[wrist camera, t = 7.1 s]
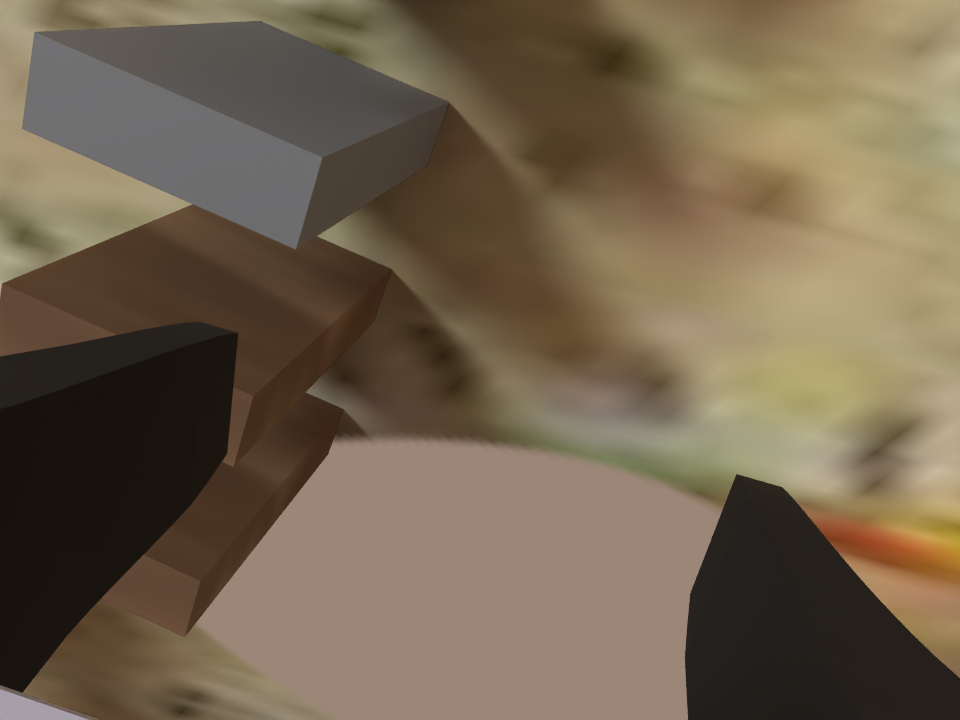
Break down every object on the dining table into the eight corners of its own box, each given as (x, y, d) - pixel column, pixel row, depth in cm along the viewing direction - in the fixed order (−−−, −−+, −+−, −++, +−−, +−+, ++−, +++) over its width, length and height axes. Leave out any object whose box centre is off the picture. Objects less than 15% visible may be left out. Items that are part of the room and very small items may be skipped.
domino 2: (328, 454, 25) (184, 637, 18) (173, 384, 25) (-30, 537, 18) (343, 409, 24) (200, 581, 17) (184, 338, 25) (-23, 478, 17)
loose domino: (427, 164, 21) (295, 249, 14) (244, 85, 21) (22, 128, 14) (449, 102, 21) (323, 157, 13) (259, 21, 21) (34, 32, 14)
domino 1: (373, 321, 23) (233, 466, 16) (205, 247, 23) (-7, 357, 16) (391, 268, 22) (253, 396, 15) (218, 193, 23) (1, 283, 15)
